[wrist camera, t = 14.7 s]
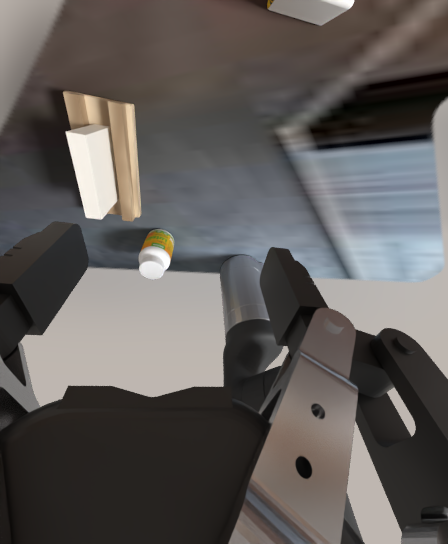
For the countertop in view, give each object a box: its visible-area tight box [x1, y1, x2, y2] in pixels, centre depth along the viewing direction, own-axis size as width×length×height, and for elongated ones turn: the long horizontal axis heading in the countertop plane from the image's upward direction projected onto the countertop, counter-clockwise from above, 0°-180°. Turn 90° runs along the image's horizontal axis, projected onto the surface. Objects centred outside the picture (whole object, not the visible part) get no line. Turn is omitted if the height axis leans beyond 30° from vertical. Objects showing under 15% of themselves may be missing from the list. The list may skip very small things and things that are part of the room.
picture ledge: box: [63, 91, 141, 221], centre depth 33 cm, size 8×16×3 cm, turn 170°
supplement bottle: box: [139, 229, 174, 280], centre depth 39 cm, size 5×5×10 cm
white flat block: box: [66, 124, 119, 219], centre depth 30 cm, size 2×10×8 cm, turn 170°
